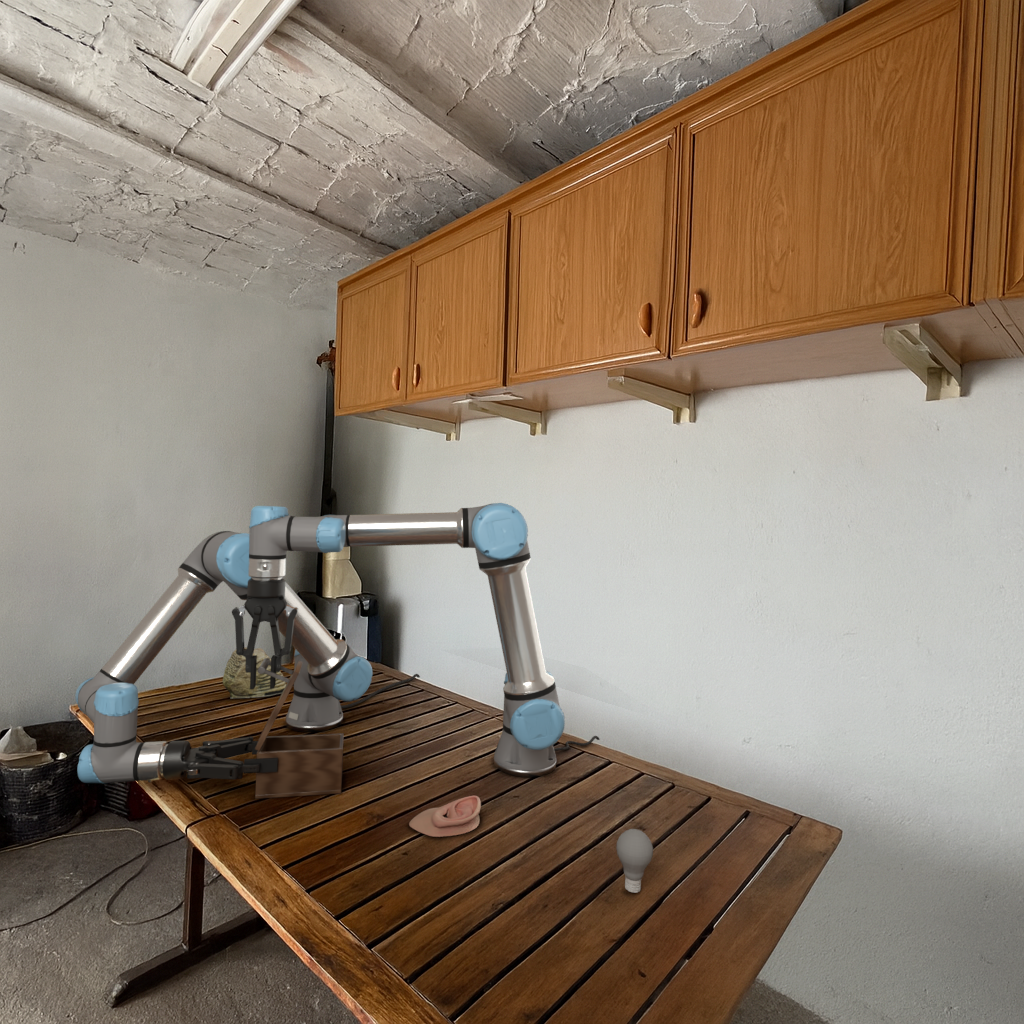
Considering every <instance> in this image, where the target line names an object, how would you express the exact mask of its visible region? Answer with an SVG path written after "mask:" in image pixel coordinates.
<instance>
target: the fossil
mask: <svg viewBox="0 0 1024 1024" xmlns="http://www.w3.org/2000/svg"><path fill="white" fill-rule="evenodd" d="M244 647H245V646H244ZM245 649H247V646H246V647H245ZM253 655H257V667H256V686H255V688H254V689H250V674H251V673H246V671H245V664H246V658H245V657H244V656H242V655H237V653H236V649H235V650H233V651H232V653H231V656H230V657H229V659H228V660H227V663H226V666H225V668H224V671H223V675H222V676H223V677H222V685H223V687H224V688H225V690H226V691H228V693H229V698H230V699H250V698H264V697H271V696H275V695H281V694H282V692H283V690H284V688H285V686H286V684H287V682H284V681H282V680H279V679H277V678H276V683H275V687H274V689H270V675H267V674H265V673H263V674H259V673H258V668H259V667H260V665H261V663H262V662H263V660H264V659H265V658H269V659H270V661H271V658H272V657H270V656H269V655H268V654H267V653H266V652H265V650H264V649H263V648H260V647H258V648H254V653H253ZM266 670H268V671H271V666H270V665H268V667H267V669H266ZM276 674H278V675H280V676H283V677H285V676H284V674H283V673H282V672H281V671H280V672H276Z"/></svg>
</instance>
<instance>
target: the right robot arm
mask: <svg viewBox="0 0 1024 1024" xmlns="http://www.w3.org/2000/svg"><path fill="white" fill-rule="evenodd" d="M249 519H250V521H249V526H248V529H249V530H248V531H249V532H248V534H249V563H248V576H249V577H251V579H249V580H248V589H247V600H245V602H244V604H243V605H241V606H235V607H234V608H233V609H232V610H231V615H232V617H233V619H234V624H235V625H234V627H235V650H236V653H237V655H242V656H244V657H245V658H246V664H245V671H246V673H251V674H250V689H254V688H255V686H256V667H257V655H253V653H254V649H256V642H257V638H258V633H259V629H260V625H261V623H262V622H266V623H269V626H270V631H271V637H272V645H273V652H274V654H273V655H272V656H271V657H270V658H271V672H273V673H276V672H281V671H282V670H281V666H282V664H283V663H282V661H283V659H282V658H283V656H286V655H289V654H290V652H291V650H292V636H293V627H294V618H295V616H296V614H297V612H298V608H297V607H294V608H293V607H291V606H289V605H287V602H286V600H285V582H286V580H285V578H284V577H286V574H287V552H308V553H309V552H311V553H323V554H329V553H330V554H331V553H340V552H342V551H343V549H344V548H349V547H384V546H385V547H386V546H391V547H392V546H429V545H430V546H431V545H434V546H435V545H458V546H459V547H460V548H461V549H474V550H475V554H476V559H477V564H478V569H479V571H481V572H482V573H484V574H485V575H486V576H487V579H488V584H489V585H488V586H489V590H490V594H491V599H492V604H493V609H494V615H495V619H496V620H495V621H496V625H497V629H498V635H499V640H500V645H501V650H502V656H503V660H504V666H505V671H506V672H505V676H504V681H503V684H504V686H503V689H502V691H503V714H502V732H501V735H500V737H499V739H498V743H497V744H496V748H495V751H494V755H493V765H494V767H495V768H496V769H497V770H499V771H501V772H502V773H505V774H508V775H511V776H516V777H523V778H532V777H533V778H534V777H542V776H545V775H547V774H550V773H553V772H554V771H555V770H556V768H557V755H556V752H560V751H567V750H569V749H570V745H575V746H580V747H587V746H589V745H591V744H592V743H593V742H594V741H595V739H596V740H597V741H600V740H601V738H600V737H599V736H597V735H593V736H592V737H591V738H590V740H589V741H587V742H577V741H574V740H567V741H565V743H564V744H565V746H563V747H554V745H556V743H557V742H558V741H559V740H560V738H561V737H562V736H563V733H564V731H565V725H566V724H565V723H566V720H565V718H566V717H565V714H564V712H563V709H562V707H561V706H560V700H559V696H558V690H557V686H556V681H555V678H554V676H553V674H552V672H550V671H548V670H546V665H545V659H544V655H543V650H542V644H541V639H540V634H539V629H538V624H537V620H536V613H535V609H534V603H533V597H532V593H531V589H530V583H529V579H528V573H527V566H528V564H530V562H531V559H532V558H531V552H530V547H529V542H528V536H529V528H528V523H527V521H526V518H525V517H524V516H523V514H522V513H521V512H520V510H518V509H517V508H516V507H515V506H513V505H511V504H508V503H503V502H495V503H494V502H493V503H488V504H485V505H480V506H473V507H461V508H459V509H458V510H457V511H455V512H451V511H450V512H416V513H415V512H413V513H412V512H411V513H375V514H374V513H373V514H372V513H371V514H369V513H368V514H350V515H349V514H324V515H322V516H321V515H320V516H296V515H290V513H289V508H288V507H287V506H279V505H278V506H277V505H255V506H253V507H252V508H251V510H250V518H249ZM284 610H286V615H287V616H288V621H287V629H286V637H284V638H285V639H284V647H282V640H281V632H280V631H279V626H278V617H279V616H280V615H281V613H282V612H283V611H284ZM246 612H247V614H249V616H250V617H251V618H252V621H251V628H250V632H249V637H248V641H247V646H246V647H247V649H245V626H244V623H245V622H244V616H245V614H246ZM275 683H276V678H274V677H272V676H270V689H274V687H275Z"/></svg>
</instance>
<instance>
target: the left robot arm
mask: <svg viewBox="0 0 1024 1024" xmlns="http://www.w3.org/2000/svg"><path fill="white" fill-rule="evenodd" d="M248 563H249V533H246V532H245V533H243V532H237V531H231V530H222V531H216V532H214V533H212V534H210V535H208V536H206V537H205V538H204V539H202V540H201V541H200V542H199V543H198V544H197V545H196V547H195V548H194V549H193V550H192V551H191V552H190V554H188V556H187V557H186V558H185V559H184V561H183V562H182V563H181V564H180V565H179V567H178V568H177V576H176V577H175V579H173V581H172V582H171V584H170V585H169V586H168V587H167V588H166V590H165V591H164V592H163V593H162V594H161V596H160V597H159V598H158V600H157V601H156V602H155V603H154V604H153V605H152V607H151V608H150V609H149V610H148V612H147V613H146V614H145V615H144V616H143V618H141V620H140V621H139V622H138V624H137V625H136V626H135V627H134V629H133V630H132V631H131V632H130V634H129V635H128V636H127V637H126V638H125V639H124V641H123V642H122V643H121V645H119V647H118V648H117V649H116V651H115V652H114V653H112V655H111V657H109V659H108V660H107V662H105V664H104V665H103V666H102V668H101V669H99V671H98V672H97V673H96V674H95V675H94V676H93V677H90V678H88V679H86V680H84V681H83V682H81V683H80V684H79V686H78V687H77V688H76V691H75V695H74V700H75V702H76V704H77V707H78V708H79V710H80V712H82V713H83V714H84V715H86V717H88V719H89V720H90V721H91V722H92V723H93V741H92V742H93V743H90V744H87V745H85V746H84V748H83V749H81V752H80V755H79V757H78V764H77V767H76V768H77V771H76V772H77V777H78V779H79V781H80V782H82V783H84V784H102V785H105V784H113V783H125V782H143V781H145V782H146V781H147V782H148V783H152V782H153V781H160V780H163V779H165V780H167V781H169V780H170V781H171V780H172V781H173V780H183V779H185V778H186V779H188V780H190V779H214V780H215V779H218V780H241V779H243V778H244V774H245V775H246V774H256V773H265V772H277V771H278V758H259V759H257V758H244V760H243V761H241V760H236V759H232V758H231V757H236V756H237V757H238V756H241V755H242V756H243V755H245V754H250V753H251V755H257V752H258V750H255V747H256V745H257V742H258V740H254V736H247V737H238V738H229V739H222V740H205V741H202V745H201V746H199V747H192V745H191V742H190V741H189V740H172V741H170V742H168V741H167V740H162V741H161V740H159V741H143V742H140V741H137V735H138V733H137V732H138V731H137V730H138V711H139V703H140V700H139V690H138V687H137V685H136V682H137V681H138V680H139V679H140V677H141V676H142V675H143V674H144V672H145V671H146V670H147V668H148V667H149V666H150V665H151V663H153V661H154V660H155V659H156V657H157V656H158V654H159V653H160V652H161V651H162V650H163V649H164V647H165V646H166V645H167V643H168V642H169V641H170V640H171V639H172V637H173V636H174V635H175V633H176V632H177V631H178V629H180V627H181V626H182V625H183V623H184V622H185V621H186V620H187V618H188V617H189V616H190V614H191V613H192V612H193V611H194V610H195V608H196V607H197V606H198V604H199V603H200V602H201V601H202V599H204V597H205V596H206V594H209V593H213V592H215V590H216V589H217V588H218V586H220V584H221V583H223V582H224V584H226V585H227V586H228V588H229V589H230V590H231V591H232V592H233V593H234V594H235V595H236V596H237V597H238V598H239V600H241V601H246V600H247V589H248V580H249V579H251V577H249V576H248ZM285 600H286V602H287V605H289V606H291V607H293V608H294V607H297V608H298V612H297V614H296V616H295V618H294V627H293V636H292V645H291V647H293V648H294V649H295V650H294V655H293V657H294V669H295V667H296V665H297V663H298V661H301V662H303V663H302V666H301V669H300V672H299V675H298V676H297V678H296V680H295V682H294V684H293V695H292V696H293V697H292V699H291V702H290V704H289V708H288V711H287V713H286V715H285V726H286V728H287V729H289V730H291V731H294V732H295V731H296V732H301V733H316V732H325V731H329V730H332V729H335V728H337V727H339V726H340V725H342V723H343V722H344V713H343V709H349V708H352V707H354V706H357V705H359V704H362V703H363V702H366V701H367V700H369V699H370V698H372V697H373V696H375V695H377V694H379V693H381V692H383V691H385V690H388V689H391V688H393V687H395V686H398V685H402V684H405V683H408V682H411V681H413V680H414V679H415V678H421V676H420V674H418V673H415V674H413V675H412V676H411V677H409V678H406V679H403V680H400V681H396V682H394V683H391V684H388V685H386V686H383V687H381V688H379V689H377V690H375V691H373V692H371V693H370V694H368V695H366V696H365V697H363V698H361V697H362V696H364V694H365V693H366V692H367V691H368V690H369V687H370V686H371V684H372V679H373V678H372V677H373V667H372V664H371V663H370V661H368V660H367V659H366V658H365V657H364V656H361V655H360V656H359V655H358V654H356V652H355V651H354V650H353V649H352V648H351V647H350V645H349V644H348V643H347V642H346V641H345V640H344V639H342V638H335V637H334V636H333V635H332V633H330V631H329V630H328V629H327V628H326V627H325V626H324V625H323V623H322V622H321V620H319V619H318V617H316V615H315V614H314V613H313V611H312V610H311V609H310V608H309V607H308V606H307V605H306V604H305V602H304V601H303V599H301V598H300V597H299V595H298V594H297V593H296V592H295V591H294V589H293V588H292V587H291V586H290V585H289V583H288V582H286V581H285ZM287 621H288V616H287V615H286V610H284V611H283V612H282V613H281V615H280V616H279V617H278V626H279V633H280V635H282V636H283V637H284V638H285V637H286V629H287ZM294 669H293V670H294ZM358 699H359V700H358ZM340 701H342V702H345V703H347V702H349V703H348V704H344V705H343V704H341V702H340ZM353 701H354V702H353ZM350 702H352V703H350ZM230 758H231V759H230Z"/></svg>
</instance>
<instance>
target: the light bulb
mask: <svg viewBox="0 0 1024 1024" xmlns="http://www.w3.org/2000/svg"><path fill="white" fill-rule="evenodd" d="M615 849H616V854H617V857H618V859H619V861H620V863H621V865H622V867H623V873H624V874H623V875H624V876H625V878H624V888H625V890H627V891H628V892H630V893H634V894H635V893H639V892H640V891H641V889H642V887H641V886H642V879H643V877H644V875H645V871H646V868H647V867H648V866H649V864H650V863H651V861H652V859H653V855H654V847H653V843H652V841H651V838H649V836H648V835H647V834H646V833H645V832H643V831H642V830H641V829H636V828H629V829H627V830H625V831H623V832H622V833H621V834H620V835H619V837H618V839H617V841H616V847H615Z"/></svg>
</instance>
